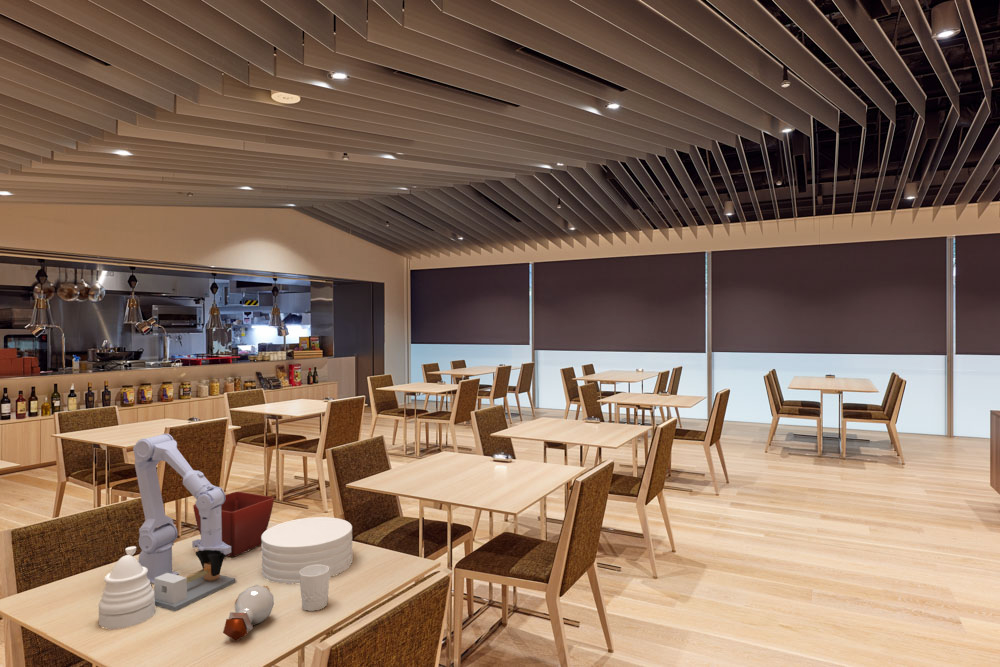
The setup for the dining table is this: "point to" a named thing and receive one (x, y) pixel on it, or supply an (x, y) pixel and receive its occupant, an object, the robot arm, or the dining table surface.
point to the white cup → (314, 587)
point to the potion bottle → (249, 611)
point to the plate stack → (305, 547)
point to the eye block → (185, 590)
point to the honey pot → (126, 594)
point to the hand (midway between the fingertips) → (212, 573)
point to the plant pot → (242, 520)
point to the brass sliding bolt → (203, 573)
